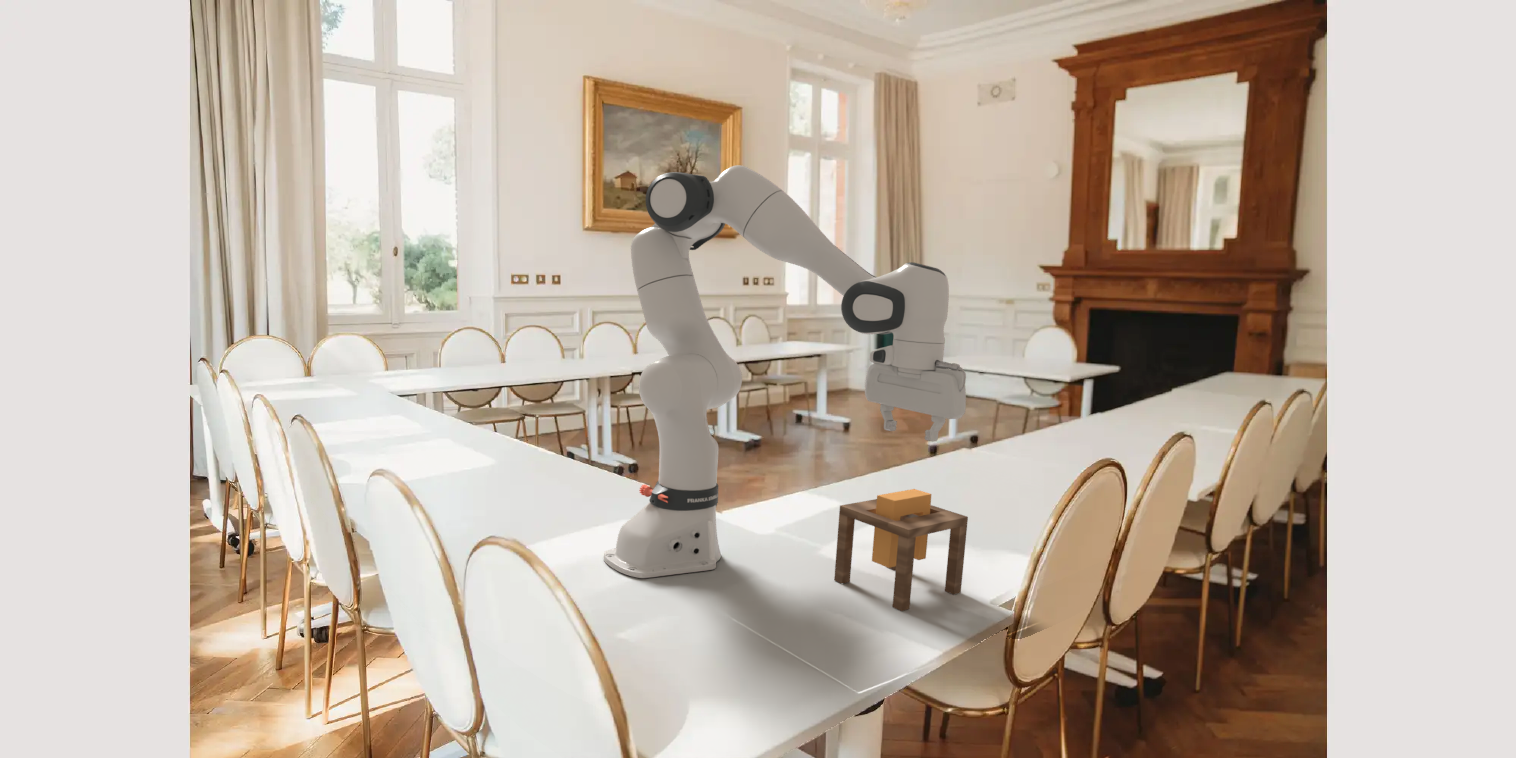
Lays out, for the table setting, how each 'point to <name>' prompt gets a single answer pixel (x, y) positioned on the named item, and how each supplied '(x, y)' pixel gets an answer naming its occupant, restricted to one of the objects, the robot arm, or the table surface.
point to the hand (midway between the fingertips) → (909, 435)
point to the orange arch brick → (894, 509)
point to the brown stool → (903, 544)
